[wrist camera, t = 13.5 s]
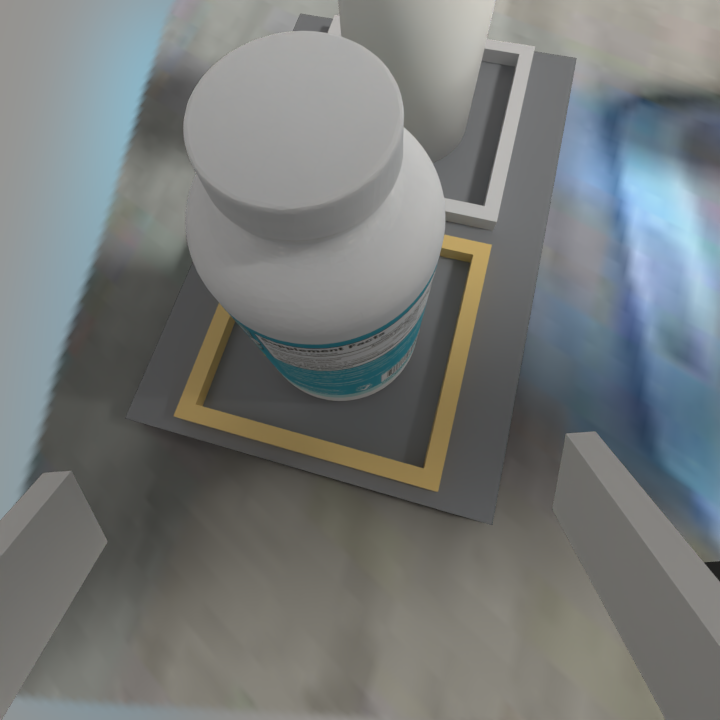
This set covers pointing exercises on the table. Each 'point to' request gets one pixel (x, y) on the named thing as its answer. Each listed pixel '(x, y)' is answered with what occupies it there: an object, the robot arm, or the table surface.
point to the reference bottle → (426, 59)
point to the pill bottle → (313, 209)
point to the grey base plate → (437, 330)
